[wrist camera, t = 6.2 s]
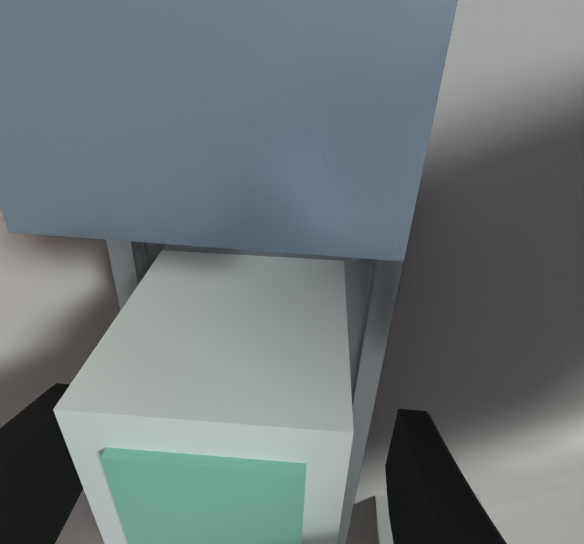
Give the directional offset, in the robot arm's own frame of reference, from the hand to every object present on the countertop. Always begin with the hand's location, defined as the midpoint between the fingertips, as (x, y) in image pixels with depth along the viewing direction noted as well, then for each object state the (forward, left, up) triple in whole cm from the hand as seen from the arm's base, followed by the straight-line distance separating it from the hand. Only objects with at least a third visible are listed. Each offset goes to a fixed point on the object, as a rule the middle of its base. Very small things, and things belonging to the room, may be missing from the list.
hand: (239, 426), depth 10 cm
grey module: (0, 0, -3) cm, 3 cm away
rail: (0, 0, -4) cm, 4 cm away
